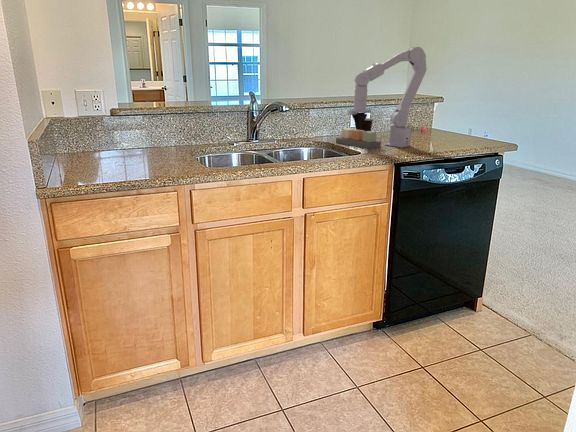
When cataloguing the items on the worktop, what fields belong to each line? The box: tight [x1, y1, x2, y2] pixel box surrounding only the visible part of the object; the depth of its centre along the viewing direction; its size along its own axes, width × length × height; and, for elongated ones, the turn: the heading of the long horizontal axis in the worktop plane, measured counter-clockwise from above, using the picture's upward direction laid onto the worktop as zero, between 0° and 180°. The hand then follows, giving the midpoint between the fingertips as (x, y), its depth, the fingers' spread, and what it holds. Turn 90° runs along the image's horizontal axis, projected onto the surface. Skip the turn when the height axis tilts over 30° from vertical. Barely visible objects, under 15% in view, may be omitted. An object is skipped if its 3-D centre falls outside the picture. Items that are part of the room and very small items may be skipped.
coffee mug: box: [354, 117, 374, 132], centre depth 226 cm, size 12×9×10 cm
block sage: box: [362, 131, 377, 142], centre depth 205 cm, size 4×4×4 cm
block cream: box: [340, 127, 356, 139], centre depth 214 cm, size 4×4×4 cm
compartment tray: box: [335, 136, 382, 150], centre depth 211 cm, size 20×9×2 cm, turn 42°
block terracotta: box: [352, 129, 365, 140], centre depth 209 cm, size 4×4×4 cm
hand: (358, 129), depth 209 cm, fingers closed
